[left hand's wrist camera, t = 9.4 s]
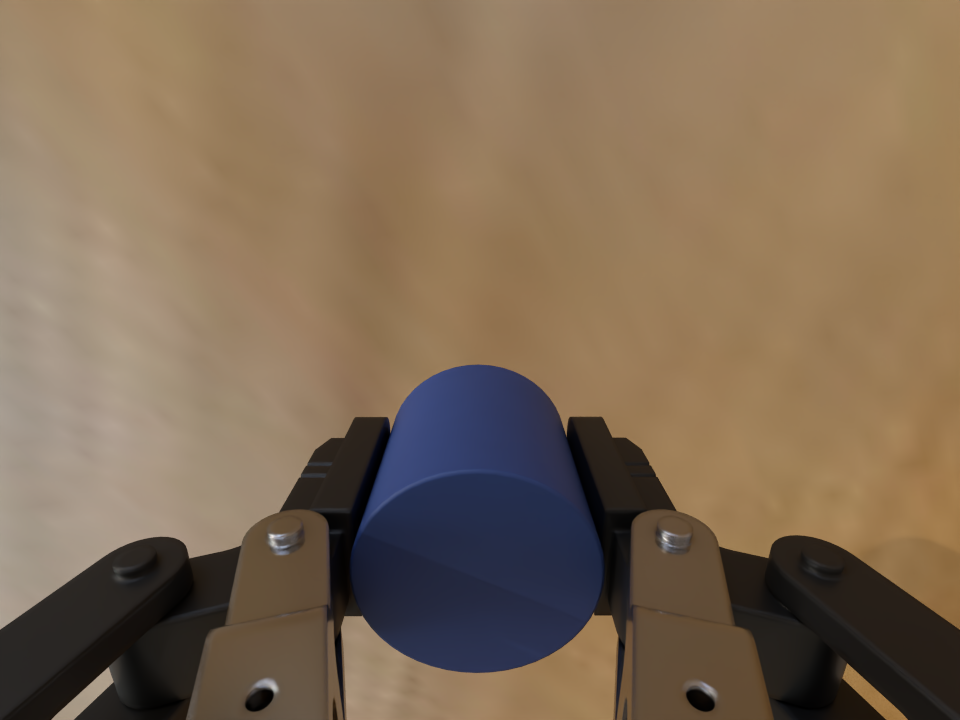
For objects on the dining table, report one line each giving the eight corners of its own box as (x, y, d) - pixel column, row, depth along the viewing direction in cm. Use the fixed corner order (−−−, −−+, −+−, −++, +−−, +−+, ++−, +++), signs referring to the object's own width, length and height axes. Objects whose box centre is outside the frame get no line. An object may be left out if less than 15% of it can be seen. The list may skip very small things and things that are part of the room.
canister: (461, 328, 12) (451, 419, 7) (599, 430, 12) (660, 563, 8) (358, 456, 13) (299, 599, 9) (491, 542, 14) (497, 709, 9)
